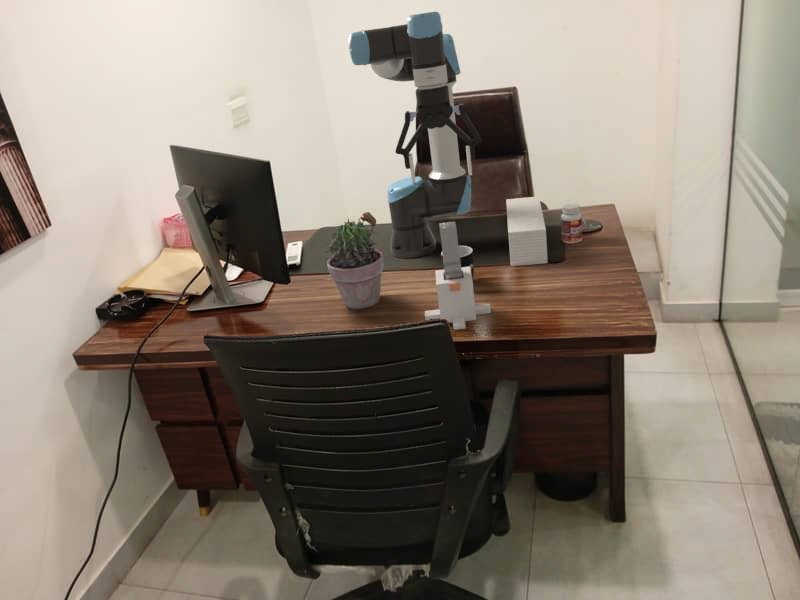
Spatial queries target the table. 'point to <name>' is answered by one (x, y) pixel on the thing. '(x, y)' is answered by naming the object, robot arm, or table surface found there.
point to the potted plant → (356, 264)
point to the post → (450, 250)
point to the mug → (465, 258)
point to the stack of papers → (526, 231)
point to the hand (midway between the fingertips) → (442, 177)
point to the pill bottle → (571, 223)
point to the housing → (456, 300)
